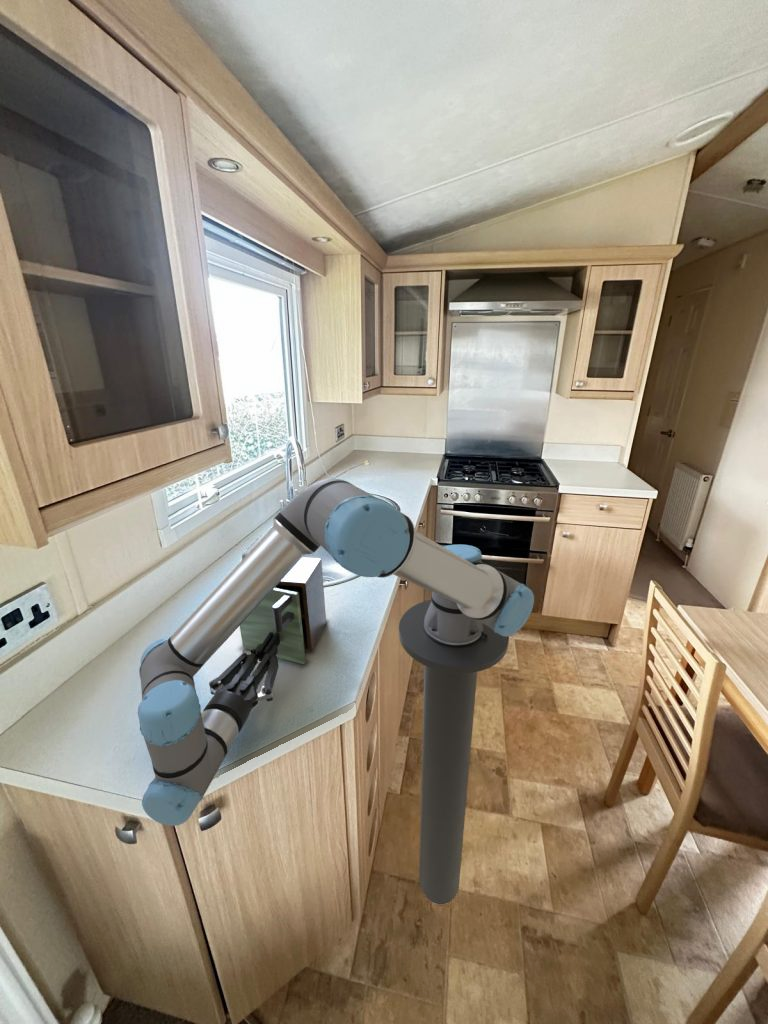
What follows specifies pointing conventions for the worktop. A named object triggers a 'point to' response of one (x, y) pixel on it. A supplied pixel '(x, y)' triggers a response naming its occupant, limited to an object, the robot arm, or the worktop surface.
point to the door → (277, 625)
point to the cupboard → (308, 597)
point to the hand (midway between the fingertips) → (275, 637)
